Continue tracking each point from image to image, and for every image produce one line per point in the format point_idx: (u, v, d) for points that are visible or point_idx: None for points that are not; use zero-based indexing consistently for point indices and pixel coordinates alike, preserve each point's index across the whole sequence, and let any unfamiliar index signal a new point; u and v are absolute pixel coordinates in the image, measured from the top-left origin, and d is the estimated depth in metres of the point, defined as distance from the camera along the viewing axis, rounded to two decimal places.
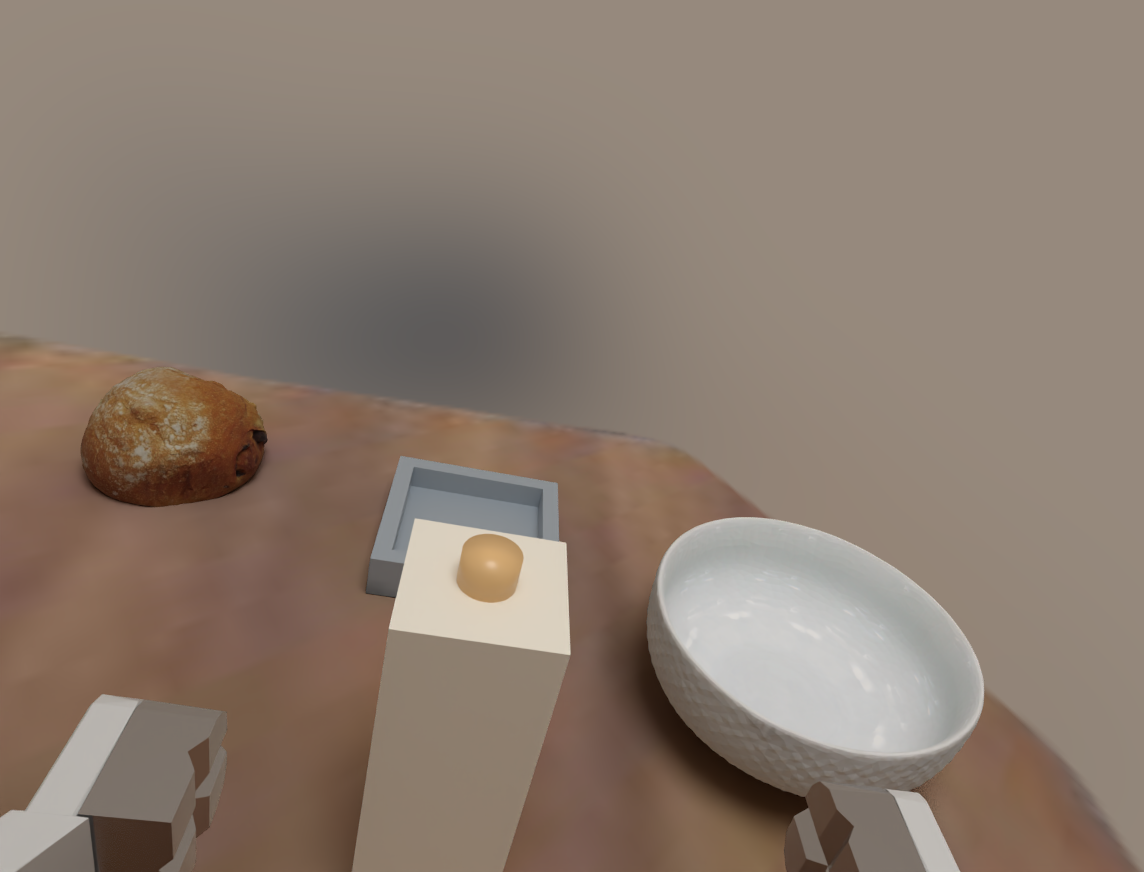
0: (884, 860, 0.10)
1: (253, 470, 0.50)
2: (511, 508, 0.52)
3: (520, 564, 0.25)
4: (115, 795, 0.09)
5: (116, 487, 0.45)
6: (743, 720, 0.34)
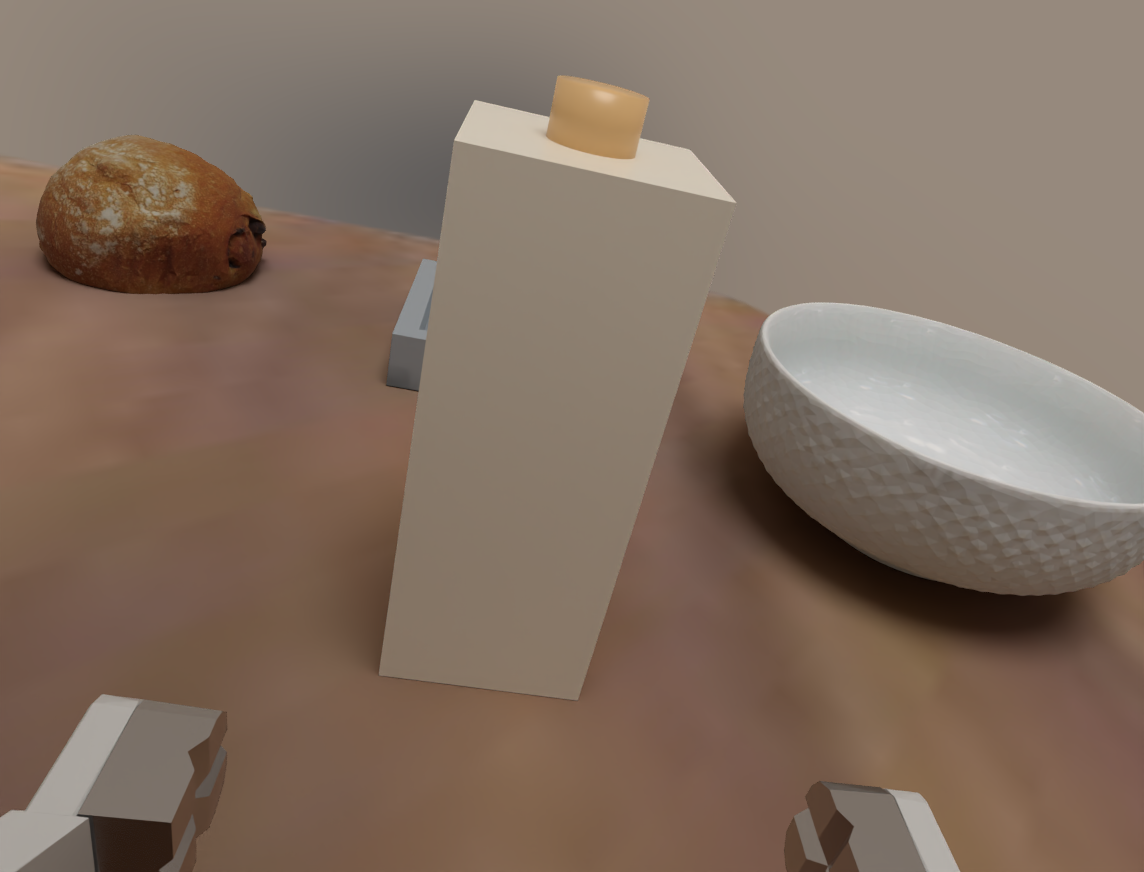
0: (884, 860, 0.10)
1: (249, 266, 0.41)
2: None
3: (646, 99, 0.17)
4: (115, 795, 0.09)
5: (79, 262, 0.36)
6: (904, 468, 0.25)
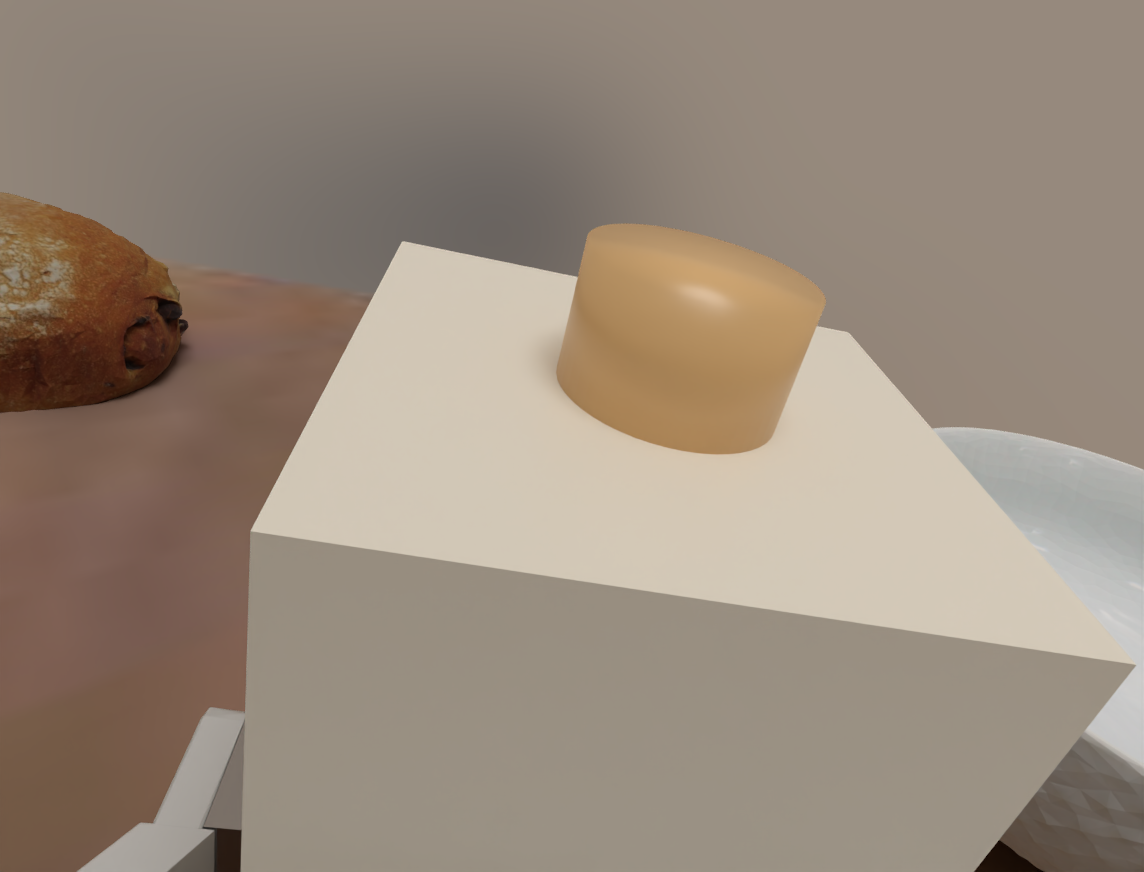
0: None
1: (158, 363, 0.31)
2: None
3: (821, 301, 0.06)
4: (236, 808, 0.09)
5: None
6: None
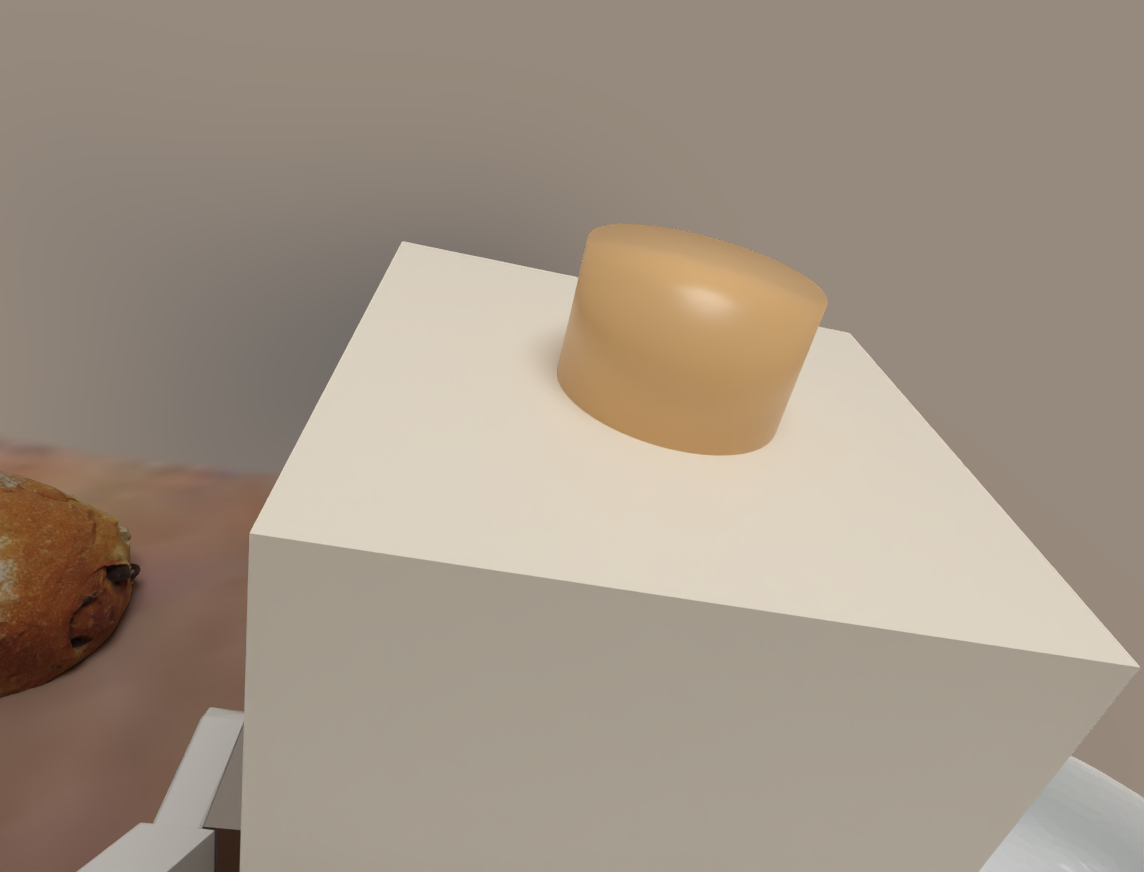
0: None
1: (107, 631, 0.31)
2: None
3: (823, 302, 0.06)
4: (236, 808, 0.09)
5: None
6: None
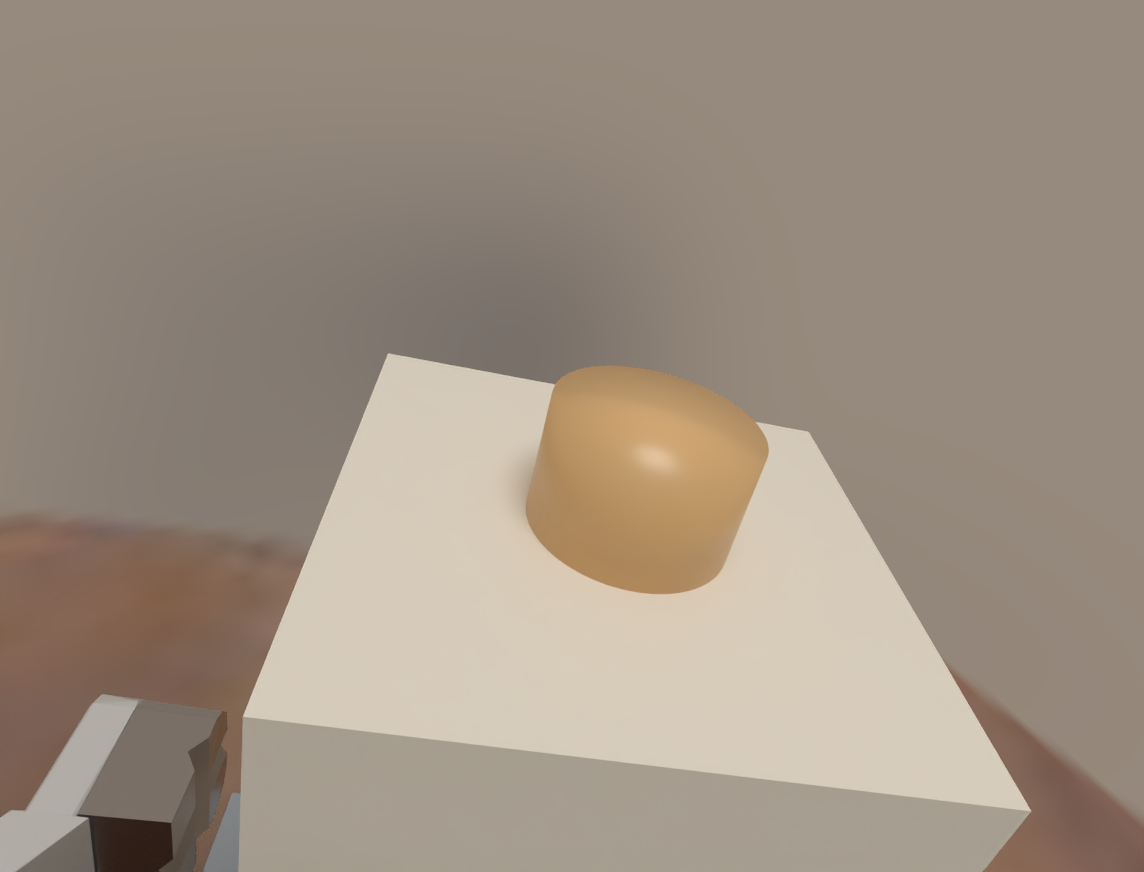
0: None
1: None
2: None
3: (764, 454, 0.07)
4: (114, 795, 0.09)
5: None
6: None
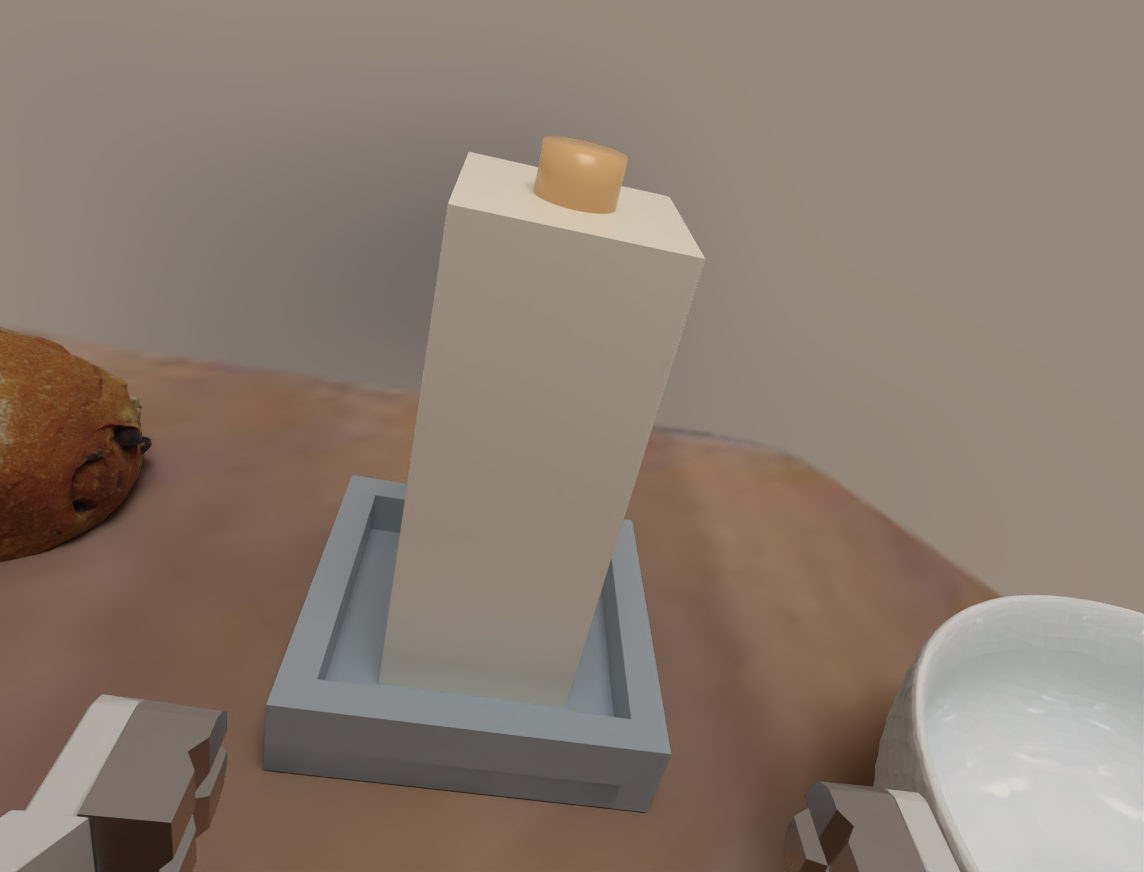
0: (884, 860, 0.10)
1: (114, 499, 0.27)
2: None
3: (625, 159, 0.18)
4: (114, 795, 0.09)
5: None
6: None
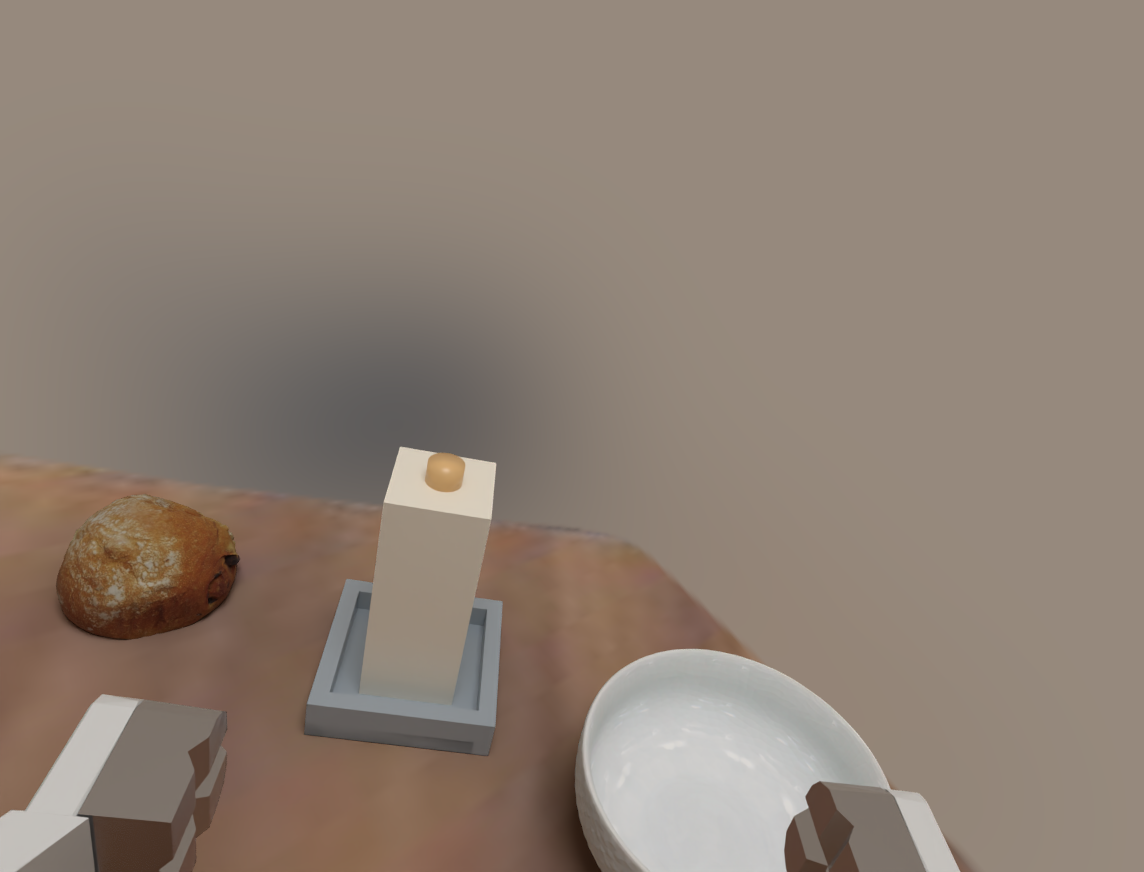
0: (884, 860, 0.10)
1: (225, 594, 0.51)
2: None
3: (463, 469, 0.42)
4: (115, 795, 0.09)
5: (90, 624, 0.47)
6: None
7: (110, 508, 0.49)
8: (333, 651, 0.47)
